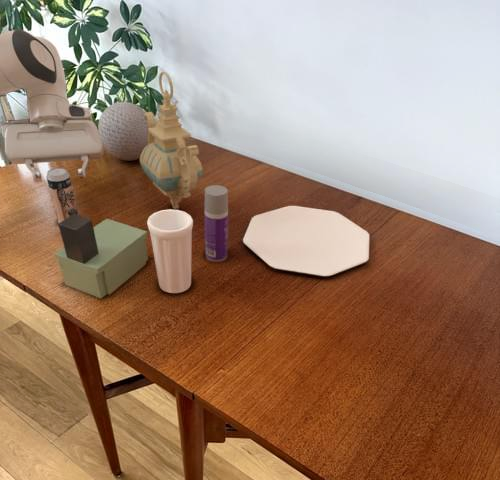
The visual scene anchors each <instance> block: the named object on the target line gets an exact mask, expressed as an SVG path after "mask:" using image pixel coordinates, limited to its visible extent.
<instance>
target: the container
mask: <svg viewBox="0 0 500 480" xmlns="http://www.w3.org/2000/svg"><path fill="white" fill-rule="evenodd" d="M228 234H229V191H228V188H227V187H225V186H223V185H218V184H213V185H209V186H207V187H205V189H204V244H205V245H204V248H205V249H204V251H205V258H206V259H207V260H208V261H210V262H217V263H218V262H223V261H225V260H226V259H227V258H228V246H229V245H228V241H229V240H228V238H229V237H228V236H229V235H228Z"/></svg>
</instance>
